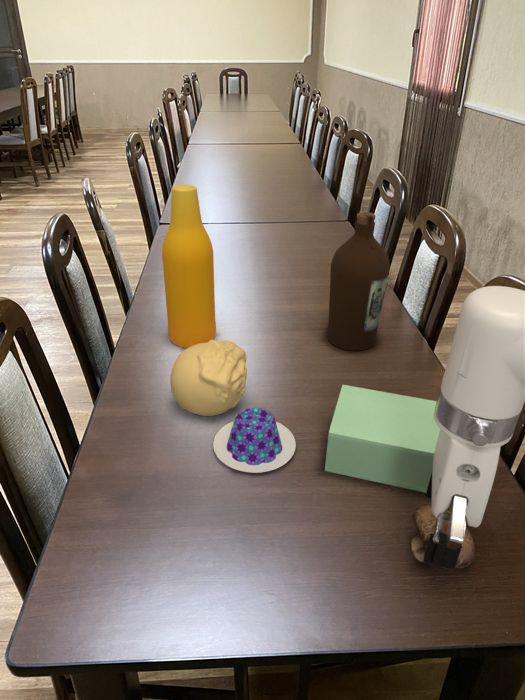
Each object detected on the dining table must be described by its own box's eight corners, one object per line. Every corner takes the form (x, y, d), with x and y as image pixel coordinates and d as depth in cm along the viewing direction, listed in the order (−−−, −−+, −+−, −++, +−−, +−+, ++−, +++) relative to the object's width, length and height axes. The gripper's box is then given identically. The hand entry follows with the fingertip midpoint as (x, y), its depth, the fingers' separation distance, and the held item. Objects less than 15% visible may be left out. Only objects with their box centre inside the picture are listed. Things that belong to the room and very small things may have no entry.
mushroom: (394, 551, 59) (432, 512, 58) (392, 519, 67) (425, 484, 66) (452, 599, 59) (492, 560, 57) (444, 561, 66) (479, 526, 65)
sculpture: (234, 431, 81) (234, 372, 76) (161, 417, 84) (155, 359, 78) (255, 389, 91) (256, 334, 85) (188, 378, 93) (185, 323, 88)
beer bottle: (220, 327, 109) (216, 182, 94) (210, 351, 101) (204, 196, 86) (175, 324, 110) (165, 179, 95) (162, 347, 102) (149, 193, 87)
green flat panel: (445, 406, 77) (446, 402, 77) (445, 459, 68) (446, 455, 67) (342, 387, 81) (342, 384, 80) (328, 435, 71) (328, 432, 71)
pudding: (288, 482, 72) (290, 453, 70) (202, 468, 74) (201, 439, 72) (300, 427, 82) (303, 399, 80) (225, 416, 84) (224, 389, 82)
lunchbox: (434, 439, 81) (442, 406, 77) (433, 494, 71) (442, 459, 68) (338, 420, 84) (342, 388, 81) (324, 471, 74) (328, 436, 71)
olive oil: (314, 342, 105) (325, 216, 92) (338, 321, 112) (351, 202, 99) (365, 359, 100) (383, 228, 87) (386, 335, 107) (406, 212, 94)
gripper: (528, 481, 45) (476, 605, 54) (507, 371, 59) (469, 484, 68) (435, 460, 46) (400, 584, 55) (437, 359, 61) (409, 470, 69)
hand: (438, 529), depth 62 cm, fingers open, 9 cm apart
